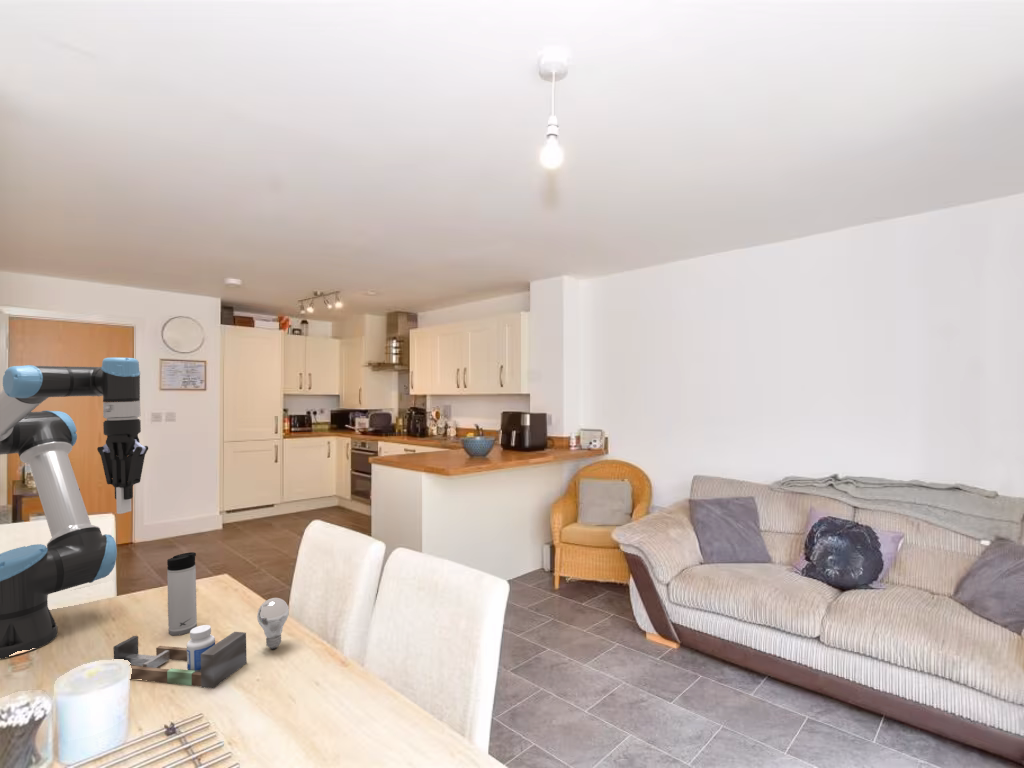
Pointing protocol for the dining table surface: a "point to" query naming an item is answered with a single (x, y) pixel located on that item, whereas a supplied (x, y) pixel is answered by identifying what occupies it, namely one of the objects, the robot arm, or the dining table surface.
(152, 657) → the grey u-channel bracket
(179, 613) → the travel mug
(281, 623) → the light bulb
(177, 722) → the dining table surface
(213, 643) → the pill bottle
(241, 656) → the frame
